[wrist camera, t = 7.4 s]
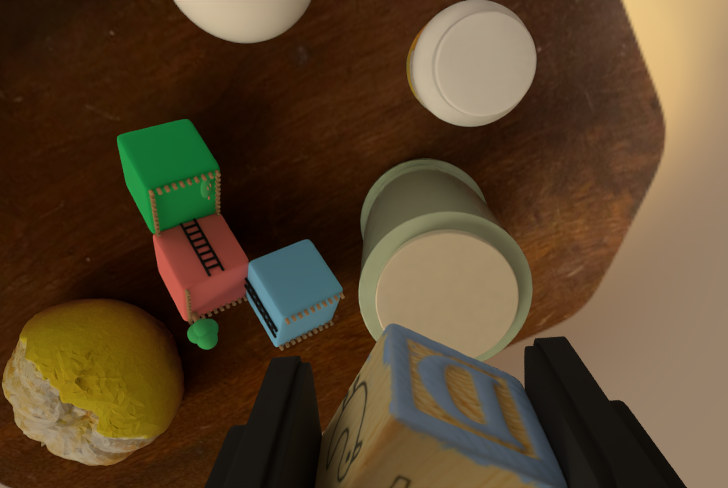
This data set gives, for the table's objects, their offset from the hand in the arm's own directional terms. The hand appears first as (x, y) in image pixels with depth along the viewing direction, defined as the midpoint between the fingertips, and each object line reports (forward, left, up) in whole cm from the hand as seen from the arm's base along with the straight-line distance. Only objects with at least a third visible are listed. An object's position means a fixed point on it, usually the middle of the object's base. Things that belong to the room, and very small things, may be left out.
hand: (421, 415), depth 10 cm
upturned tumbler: (-2, +3, -23) cm, 23 cm away
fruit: (+20, +11, -23) cm, 32 cm away
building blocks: (+9, +2, -23) cm, 25 cm away
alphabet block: (0, 0, -1) cm, 1 cm away
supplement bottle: (-4, -6, -23) cm, 24 cm away
